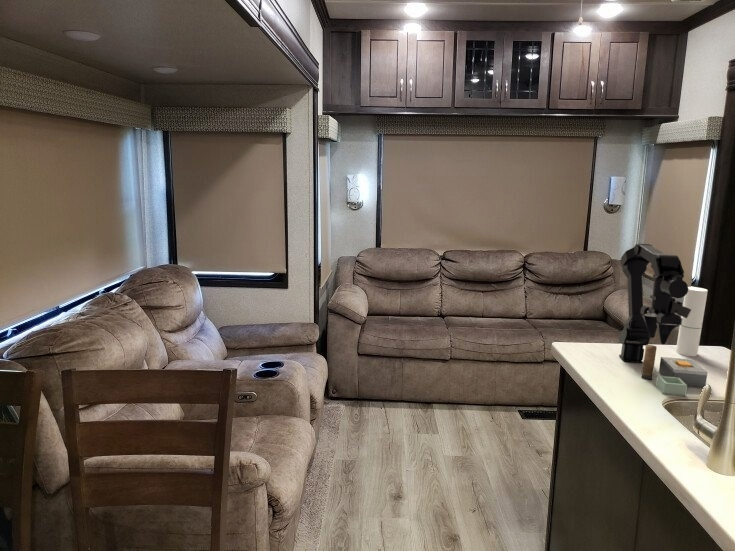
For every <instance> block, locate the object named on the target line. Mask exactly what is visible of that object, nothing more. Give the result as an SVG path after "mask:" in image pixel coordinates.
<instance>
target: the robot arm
mask: <svg viewBox="0 0 735 551" xmlns="http://www.w3.org/2000/svg"><path fill="white" fill-rule="evenodd" d="M649 264H651V265H650V268H651V269H652V270H653V272H654V274H653V275H652V278H654V279H653V280H654V281H653V287H652V288H653V289H652V294H650V296H649V299H651V305H644V294H643V290H644V289H643V276H644V275H645V273H646V271H647V270H648V265H649ZM620 265H621V269H622V272H623V274H624V275H625V277H626V278H627V302H628V305H627V307H628V317H627V319H626V321H624V322H625V323H624V324H623V325H624V326H623V329H622V330H621V332H620V333H619V334H618V342H620V343H621V350H620V351H621V352H620V354H619V355H618V356H619V357H620V359H621V360H622V362H627V363H635V364H636V363H639V364H643V362H644V355H645V349H644V346H645V347H646V345H649V343H650V340H651V339H654V338H655V336H656V332H658V336H659V341H660V344H661V345H666V343H667V341H668V339H669V336H670V334H671V333H672V331H673V330H674V329H675V328H679V327H680V325H682V318H681V316H683V317H685V318H687V317H688V315H689V313H690V311H691V309H689V308H686V307H684V306H683V302H681V301H679V300H676V299H682V298H684V296H685V295H686V294H687V292H688V287H689V286H688V284H687V282H686V281H685V280H683V278H685V271H684V267H683V265H682V261H681V259H680V258H679V256H678V255H677V254H671V253H670V254H669V253H664V252H662V251H661V250H659V249H657V248H656V247H654V246H653V245H652V244H649V243H637V244H636V243H635V245H634V246H633V247H631V248H629V249H627V250H626V251H625V252H624V253H623V254H622V256H621V258H620Z"/></svg>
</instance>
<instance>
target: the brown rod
mask: <svg viewBox="0 0 735 551" xmlns="http://www.w3.org/2000/svg"><path fill="white" fill-rule="evenodd" d="M657 347H658V346H656V345H653V344H648V345H646V346H645V349H644V355H643V363H642V369H641V377H642V378H641V379H643V380H648V381H650V380H652V379H653V375H654V368H655V362H656V354H657Z"/></svg>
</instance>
